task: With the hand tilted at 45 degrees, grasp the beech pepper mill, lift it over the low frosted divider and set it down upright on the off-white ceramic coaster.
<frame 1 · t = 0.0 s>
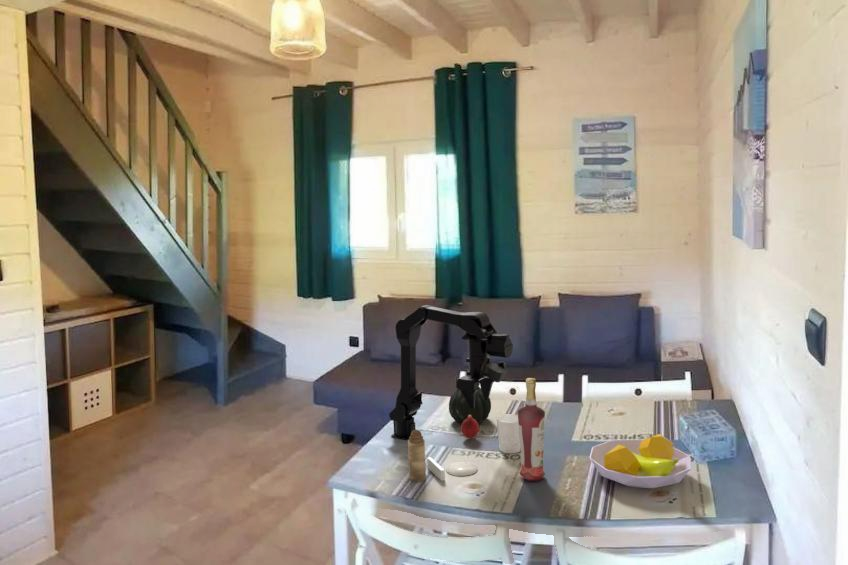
hand: (479, 404, 199), 15 cm above the table, tool pointing down, fingers open, 9 cm apart
pepper mill: (417, 478, 182), on the table
divider wall: (436, 473, 185), on the table
squash: (470, 422, 227), on the table
liquor: (532, 478, 180), on the table
onion: (470, 439, 210), on the table
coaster: (461, 469, 187), on the table
fruit bowl: (640, 479, 177), on the table
white cup: (510, 450, 201), on the table
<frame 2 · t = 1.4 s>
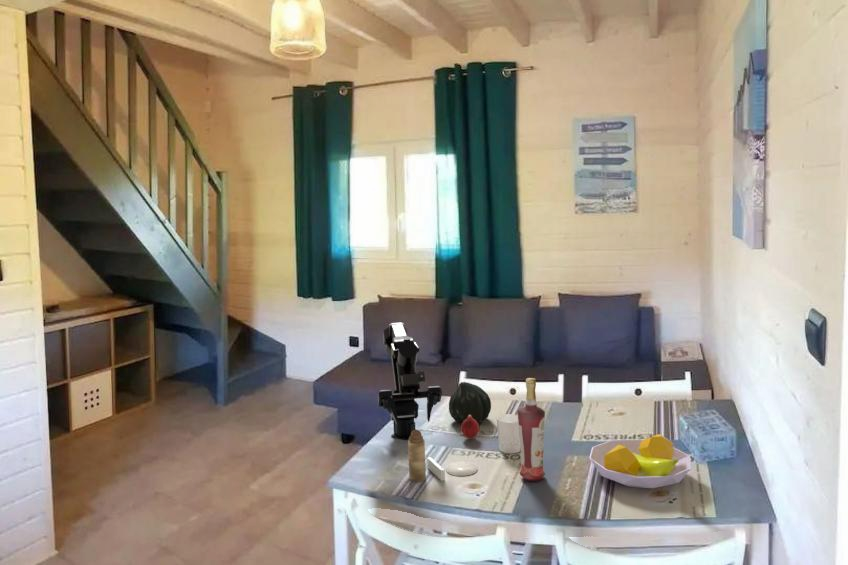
hand: (413, 422, 188), 13 cm above the table, tool tilted 45°, fingers open, 9 cm apart
nothing on the table moved.
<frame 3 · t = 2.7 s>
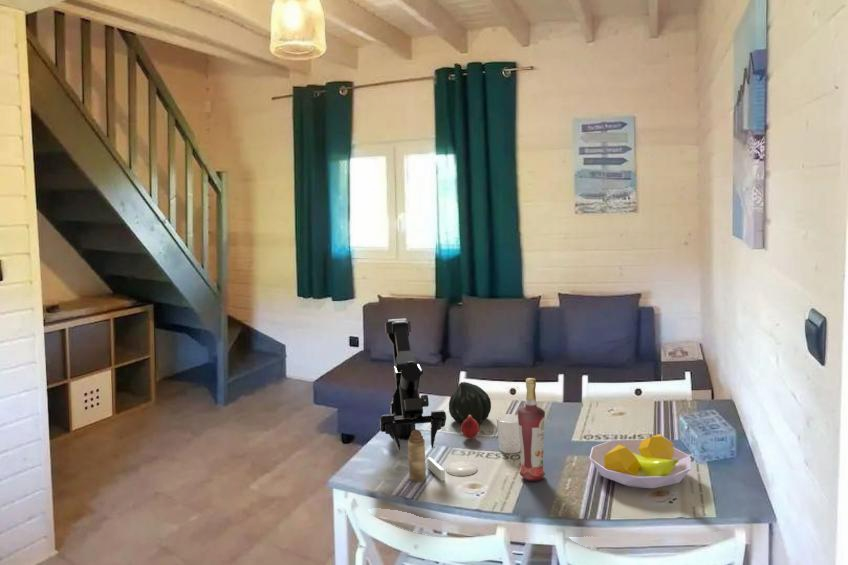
hand: (416, 448, 182), 8 cm above the table, tool tilted 45°, fingers open, 9 cm apart
nothing on the table moved.
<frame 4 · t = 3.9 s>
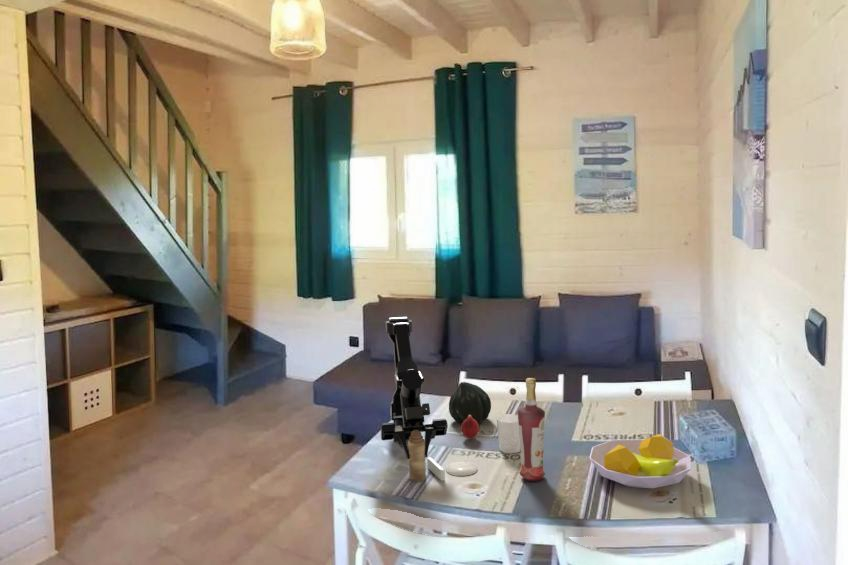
hand: (417, 457, 180), 7 cm above the table, tool tilted 45°, fingers closed on pepper mill, 5 cm apart
pepper mill: (417, 478, 182), on the table, touching gripper
everything else where it was.
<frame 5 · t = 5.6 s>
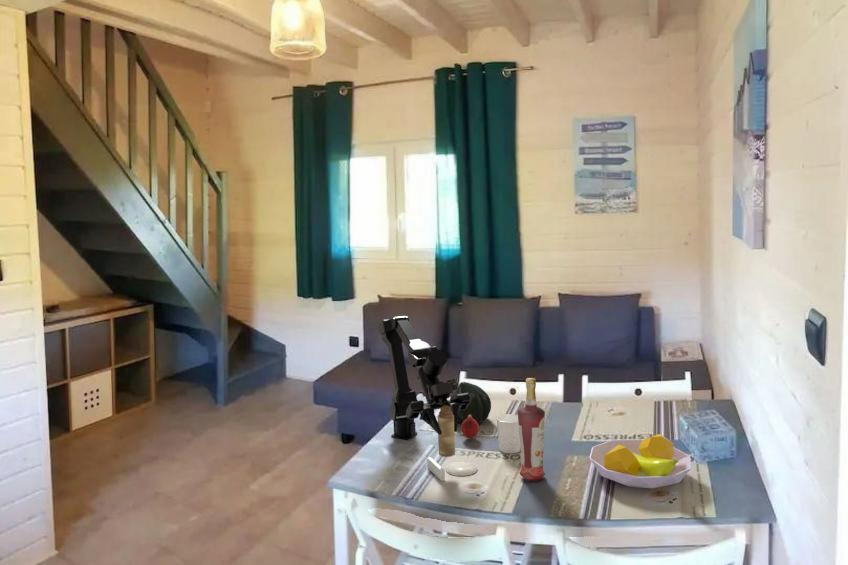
hand: (448, 432, 182), 12 cm above the table, tool tilted 45°, fingers closed on pepper mill, 5 cm apart
pepper mill: (446, 453, 184), point 6 cm above the table, touching gripper
everything else where it was.
when the fingers open (8 cm above the table, at t = 7.4 s): pepper mill stays where it is, resting on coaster.
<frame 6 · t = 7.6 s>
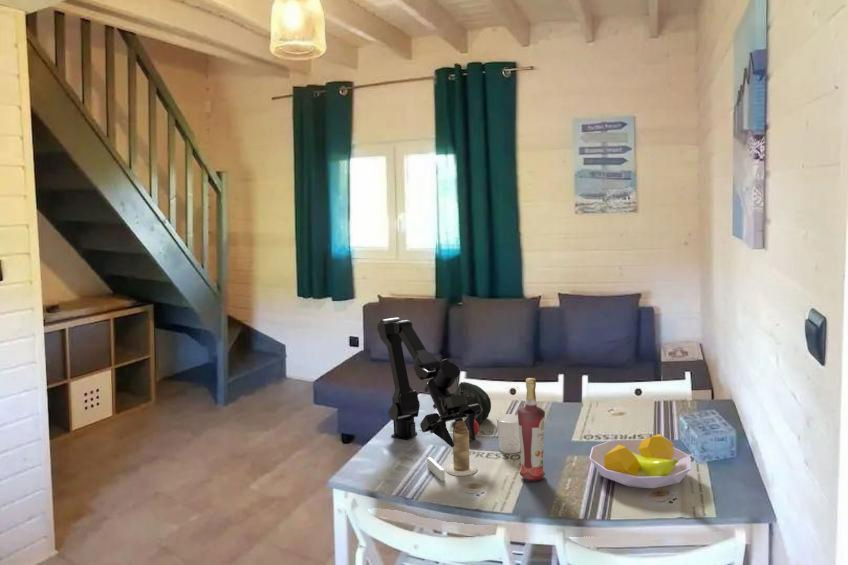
hand: (463, 443, 185), 8 cm above the table, tool tilted 45°, fingers open, 7 cm apart
pepper mill: (461, 467, 187), resting on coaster
everything else where it was.
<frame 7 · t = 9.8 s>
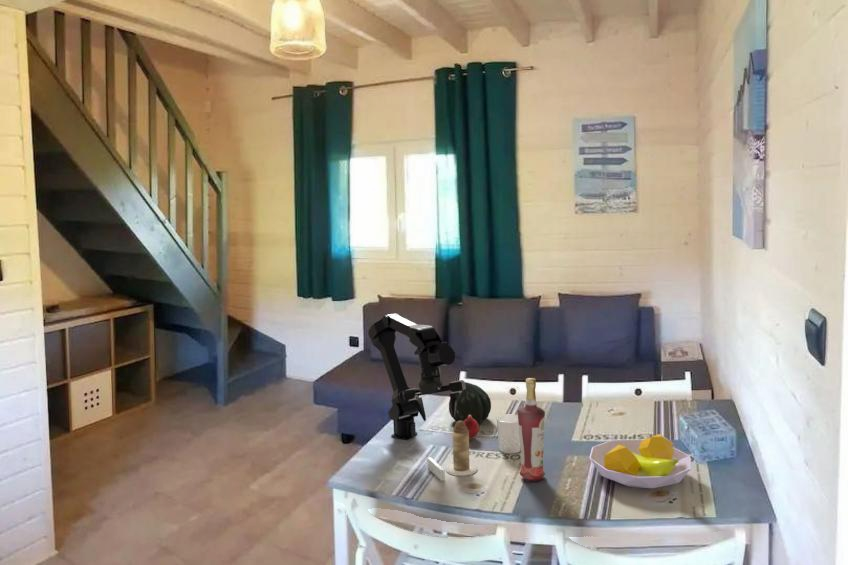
hand: (439, 418, 198), 11 cm above the table, tool tilted 15°, fingers open, 9 cm apart
nothing on the table moved.
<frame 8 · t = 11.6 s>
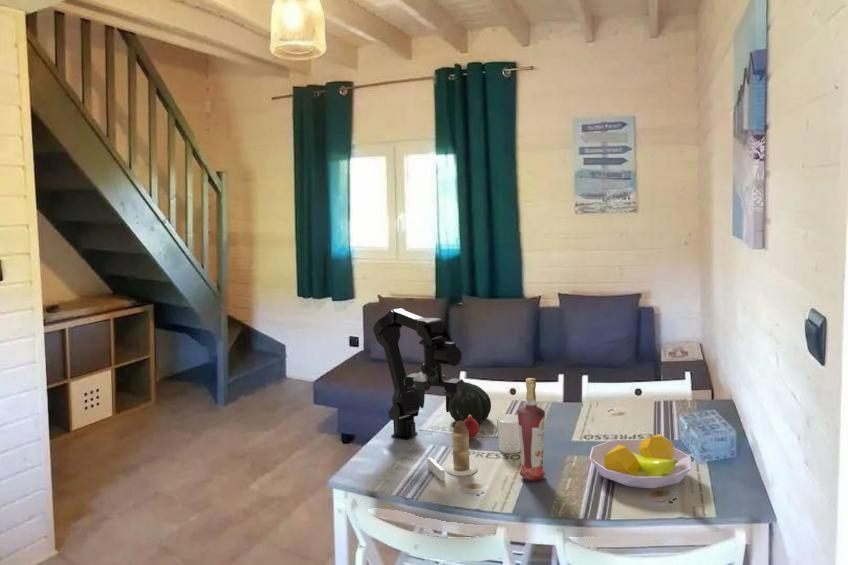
hand: (434, 409, 200), 13 cm above the table, tool pointing down, fingers open, 9 cm apart
nothing on the table moved.
at the end: pepper mill 0.1 cm from the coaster (horizontally); pepper mill tilted 0°; the gripper is holding nothing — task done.
